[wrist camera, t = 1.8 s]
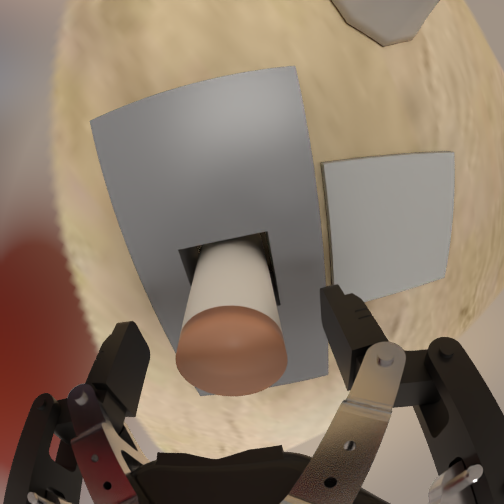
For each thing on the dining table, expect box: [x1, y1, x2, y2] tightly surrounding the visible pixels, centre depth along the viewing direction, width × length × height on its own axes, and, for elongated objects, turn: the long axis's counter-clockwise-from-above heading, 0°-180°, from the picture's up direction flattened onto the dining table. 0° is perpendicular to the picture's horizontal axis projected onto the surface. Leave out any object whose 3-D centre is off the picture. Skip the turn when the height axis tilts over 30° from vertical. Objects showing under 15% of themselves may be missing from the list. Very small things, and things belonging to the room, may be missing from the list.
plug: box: [176, 233, 288, 396], centre depth 14 cm, size 4×4×10 cm
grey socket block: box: [90, 66, 328, 396], centre depth 16 cm, size 10×20×4 cm, turn 11°
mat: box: [321, 151, 455, 302], centre depth 18 cm, size 11×11×1 cm
